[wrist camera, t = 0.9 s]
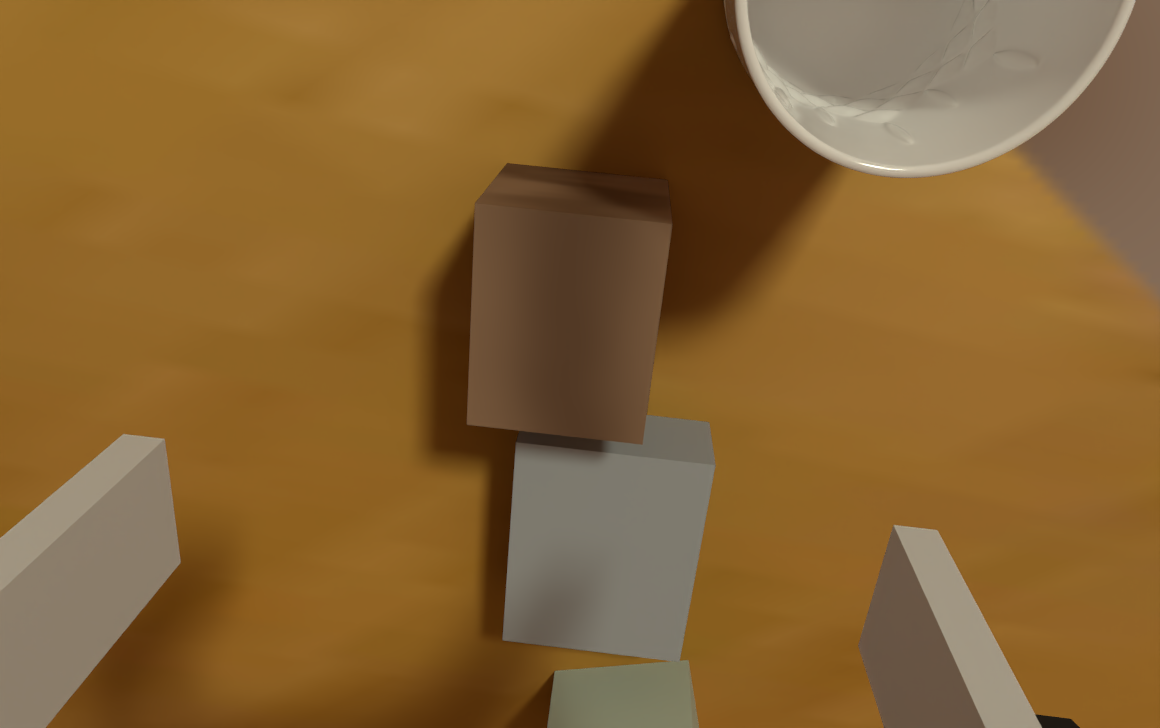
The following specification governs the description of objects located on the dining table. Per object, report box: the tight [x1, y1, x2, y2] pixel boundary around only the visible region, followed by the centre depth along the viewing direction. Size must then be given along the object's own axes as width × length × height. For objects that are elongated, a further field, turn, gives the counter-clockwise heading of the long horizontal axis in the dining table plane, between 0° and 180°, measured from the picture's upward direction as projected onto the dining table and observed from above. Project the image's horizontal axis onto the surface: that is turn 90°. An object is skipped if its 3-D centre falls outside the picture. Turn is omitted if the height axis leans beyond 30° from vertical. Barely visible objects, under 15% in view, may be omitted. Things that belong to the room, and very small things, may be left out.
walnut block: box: [467, 163, 673, 445], centre depth 27 cm, size 6×7×6 cm
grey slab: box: [503, 415, 715, 662], centre depth 33 cm, size 7×9×4 cm
